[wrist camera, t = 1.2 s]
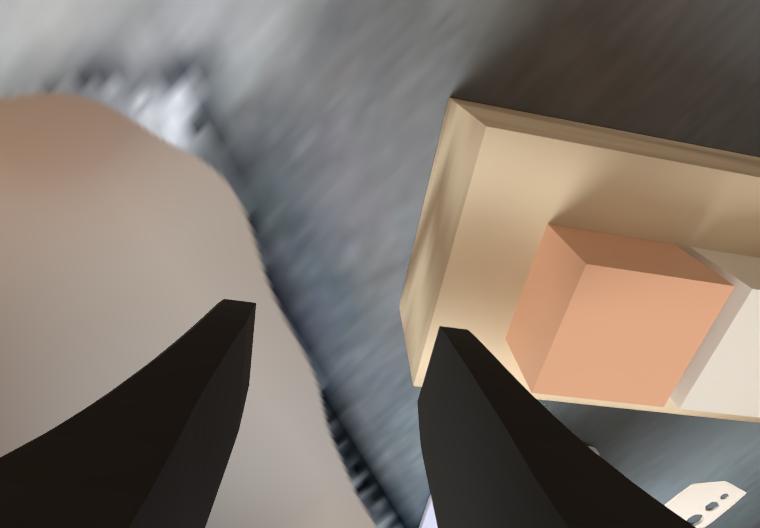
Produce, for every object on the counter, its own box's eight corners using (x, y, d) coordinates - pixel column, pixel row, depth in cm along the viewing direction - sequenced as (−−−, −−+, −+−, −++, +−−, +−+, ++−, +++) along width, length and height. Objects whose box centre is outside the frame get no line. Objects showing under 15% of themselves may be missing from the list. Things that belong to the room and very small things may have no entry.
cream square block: (739, 367, 17) (800, 421, 14) (633, 354, 16) (679, 408, 14) (805, 265, 15) (887, 309, 13) (689, 246, 14) (752, 288, 12)
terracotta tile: (619, 352, 16) (663, 407, 14) (505, 338, 15) (531, 392, 13) (674, 243, 14) (734, 286, 12) (547, 223, 14) (586, 263, 11)
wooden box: (692, 343, 22) (778, 424, 18) (399, 305, 20) (413, 385, 16) (797, 164, 19) (938, 210, 14) (449, 97, 17) (486, 126, 12)
